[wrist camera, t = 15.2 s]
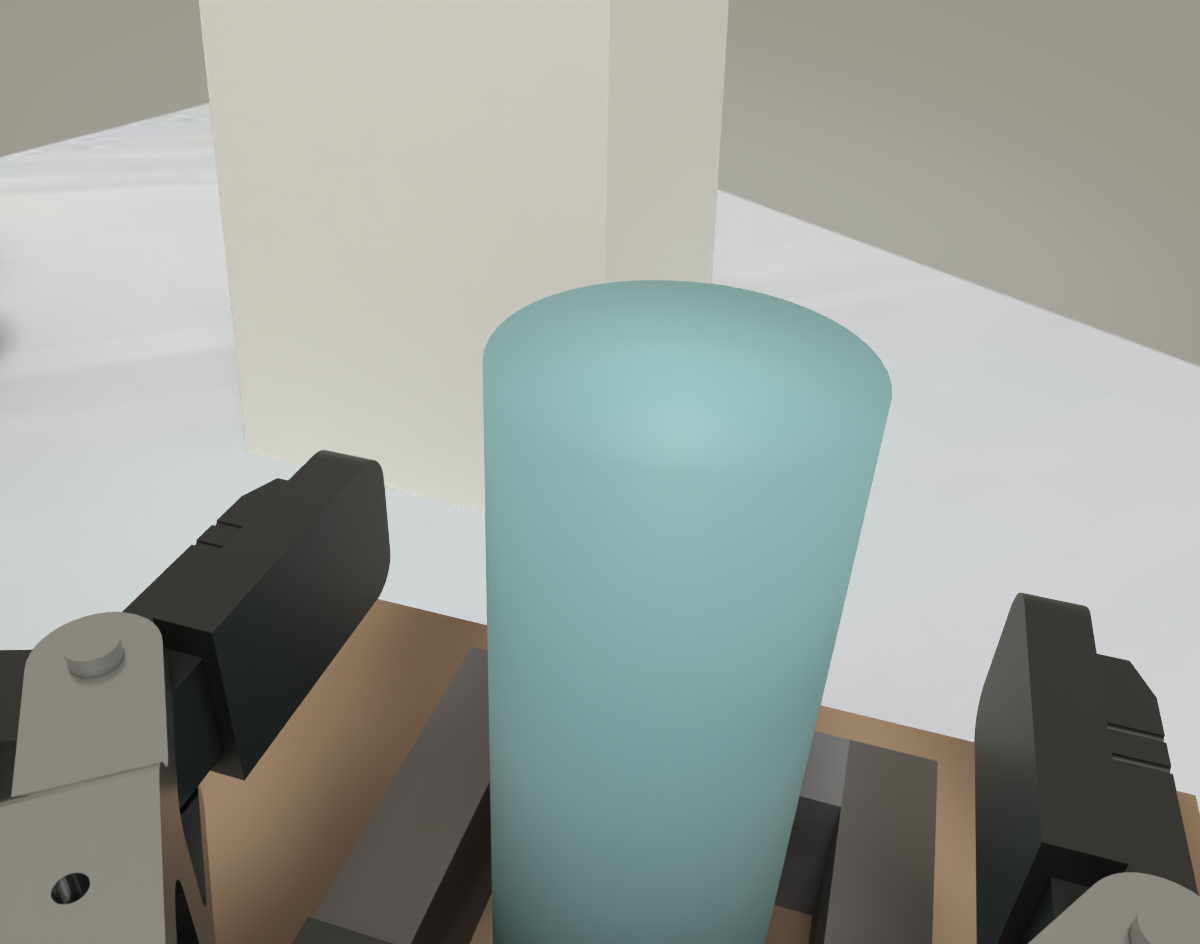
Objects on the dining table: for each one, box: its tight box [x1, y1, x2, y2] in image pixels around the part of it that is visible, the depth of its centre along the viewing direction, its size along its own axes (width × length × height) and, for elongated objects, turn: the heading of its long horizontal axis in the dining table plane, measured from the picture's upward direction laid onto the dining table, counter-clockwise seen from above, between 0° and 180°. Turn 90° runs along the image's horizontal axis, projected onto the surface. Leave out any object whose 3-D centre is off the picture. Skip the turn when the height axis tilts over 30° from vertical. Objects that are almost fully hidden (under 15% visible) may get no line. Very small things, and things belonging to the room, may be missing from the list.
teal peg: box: [483, 280, 892, 944], centre depth 14 cm, size 4×4×12 cm
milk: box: [199, 0, 729, 514], centre depth 29 cm, size 12×12×26 cm
